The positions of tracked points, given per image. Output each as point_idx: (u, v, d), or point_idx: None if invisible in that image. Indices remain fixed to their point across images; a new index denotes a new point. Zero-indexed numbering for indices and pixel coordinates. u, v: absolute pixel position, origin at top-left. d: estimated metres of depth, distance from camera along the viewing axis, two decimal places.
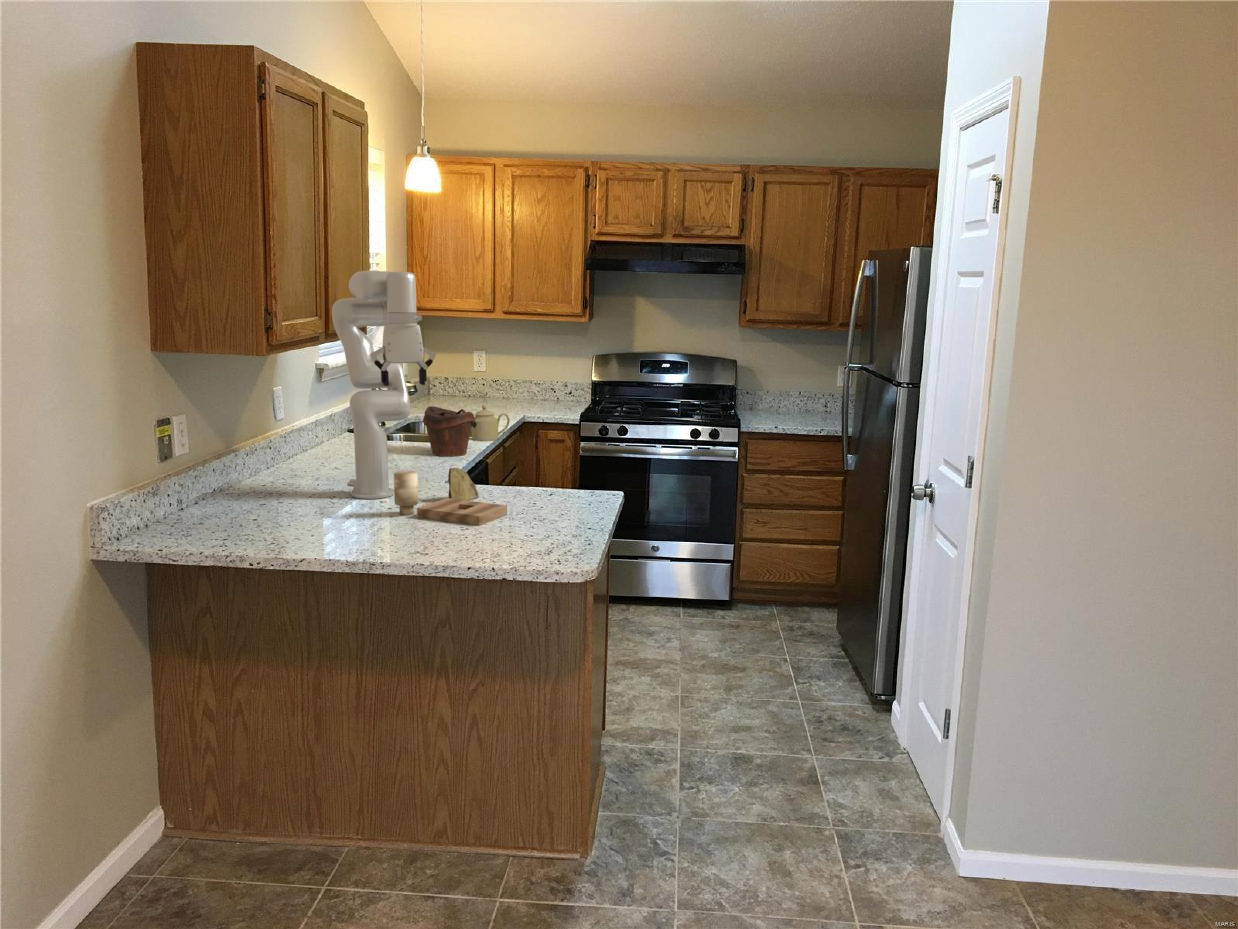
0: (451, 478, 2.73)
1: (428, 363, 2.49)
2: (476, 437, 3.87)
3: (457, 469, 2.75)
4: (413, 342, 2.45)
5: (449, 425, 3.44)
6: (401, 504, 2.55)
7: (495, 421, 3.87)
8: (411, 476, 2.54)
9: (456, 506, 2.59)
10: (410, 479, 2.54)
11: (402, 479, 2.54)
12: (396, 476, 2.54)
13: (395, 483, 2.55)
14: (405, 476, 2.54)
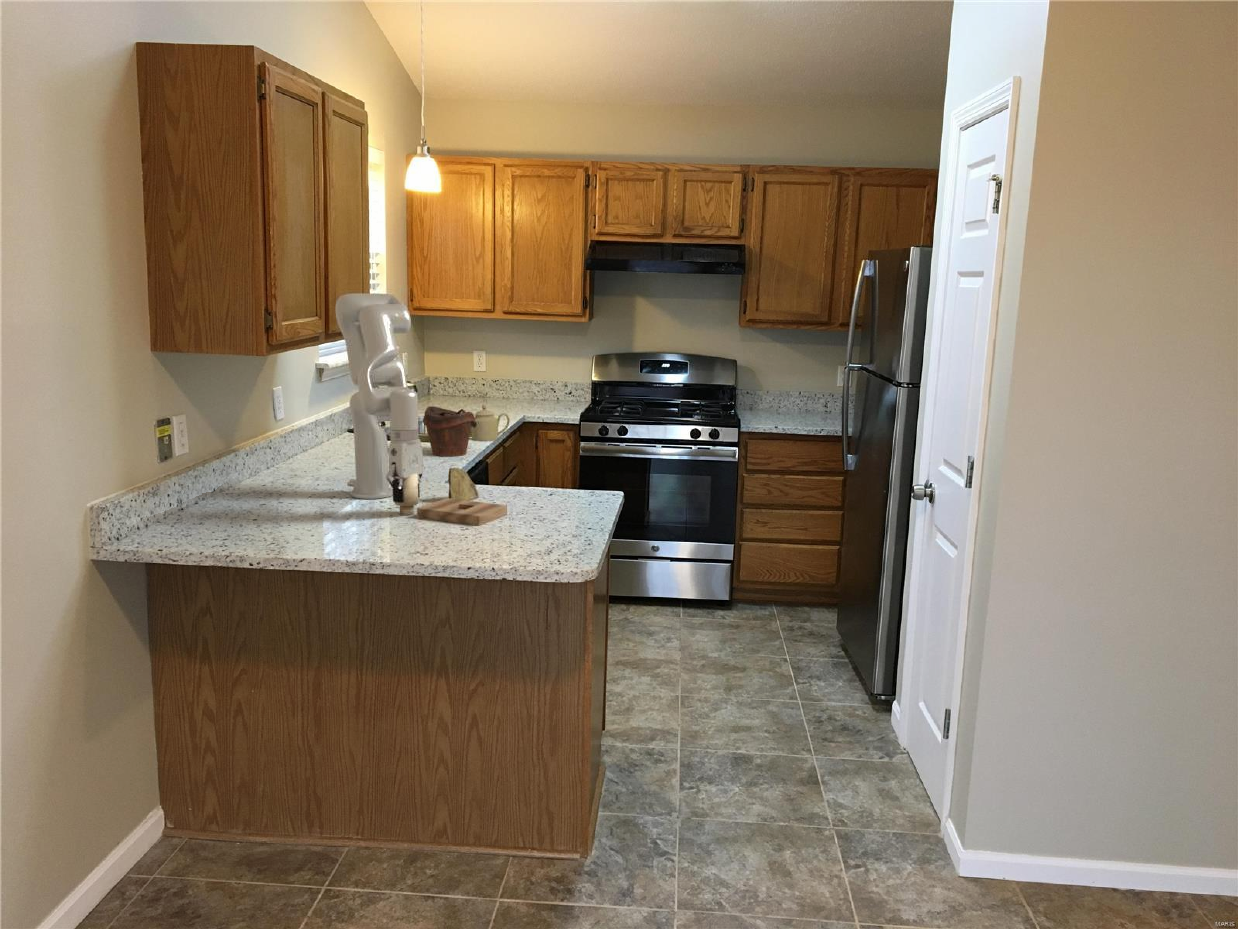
0: (451, 478, 2.73)
1: None
2: (476, 437, 3.87)
3: (457, 469, 2.75)
4: None
5: (449, 425, 3.44)
6: (401, 504, 2.55)
7: (495, 421, 3.87)
8: (411, 476, 2.54)
9: (456, 506, 2.59)
10: (410, 479, 2.54)
11: None
12: None
13: None
14: None
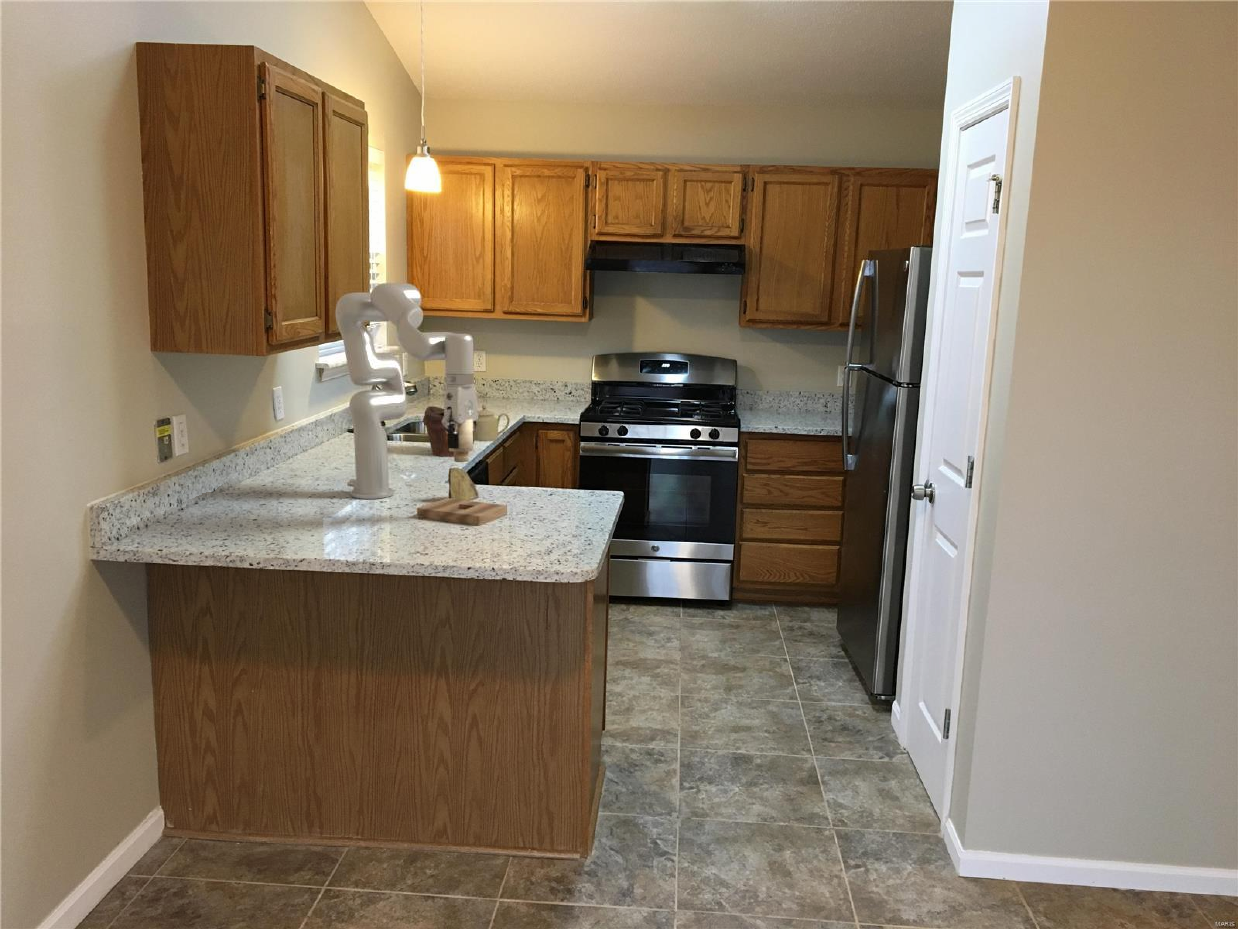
0: (451, 478, 2.73)
1: None
2: (476, 437, 3.87)
3: (457, 469, 2.75)
4: None
5: None
6: (456, 450, 2.51)
7: (495, 421, 3.87)
8: (467, 421, 2.50)
9: (456, 506, 2.59)
10: (465, 424, 2.50)
11: None
12: (451, 421, 2.50)
13: None
14: None
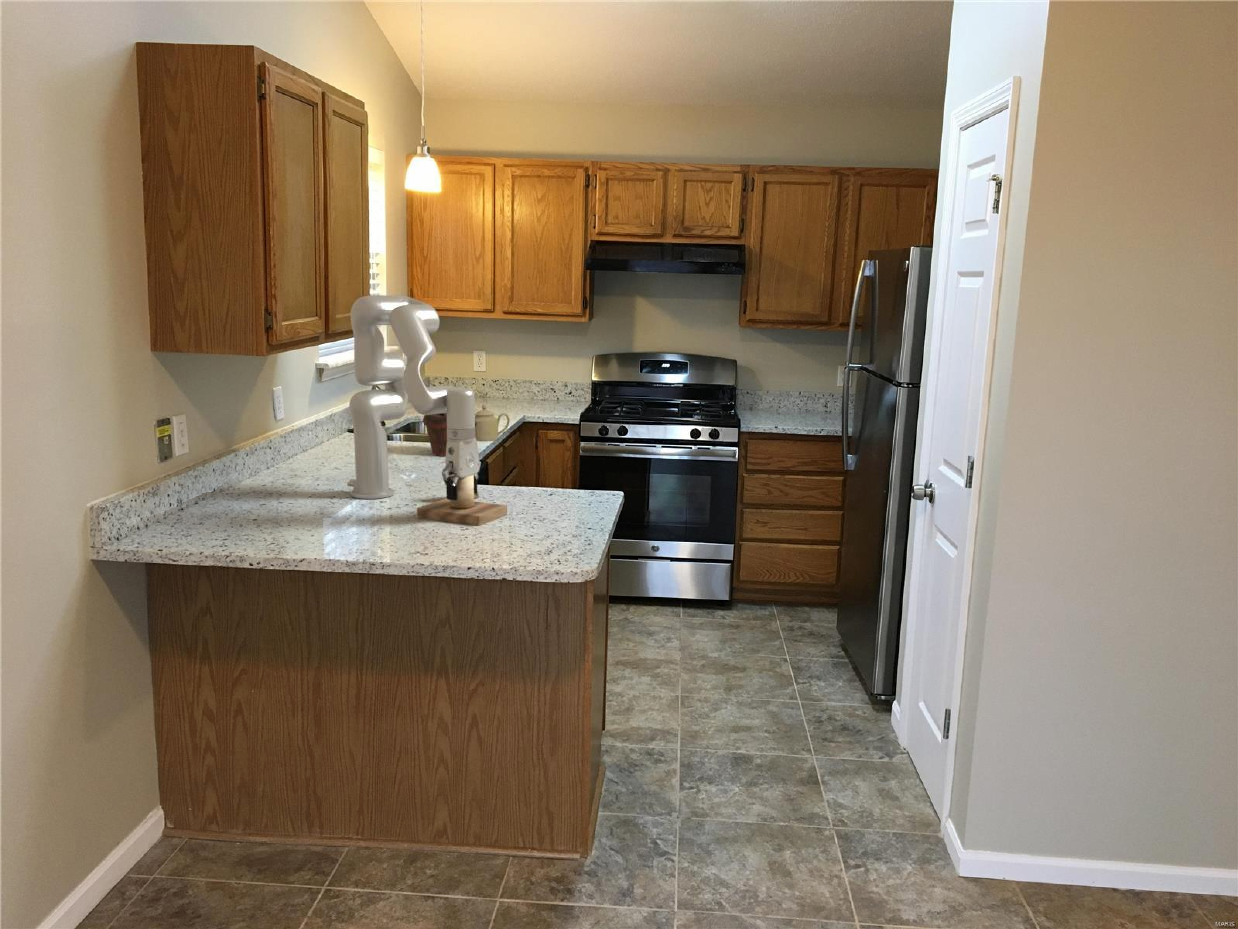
0: None
1: None
2: (476, 437, 3.87)
3: None
4: None
5: None
6: (457, 506, 2.53)
7: (495, 421, 3.87)
8: (468, 478, 2.53)
9: None
10: (467, 480, 2.53)
11: (458, 481, 2.52)
12: (453, 478, 2.53)
13: None
14: (462, 478, 2.52)
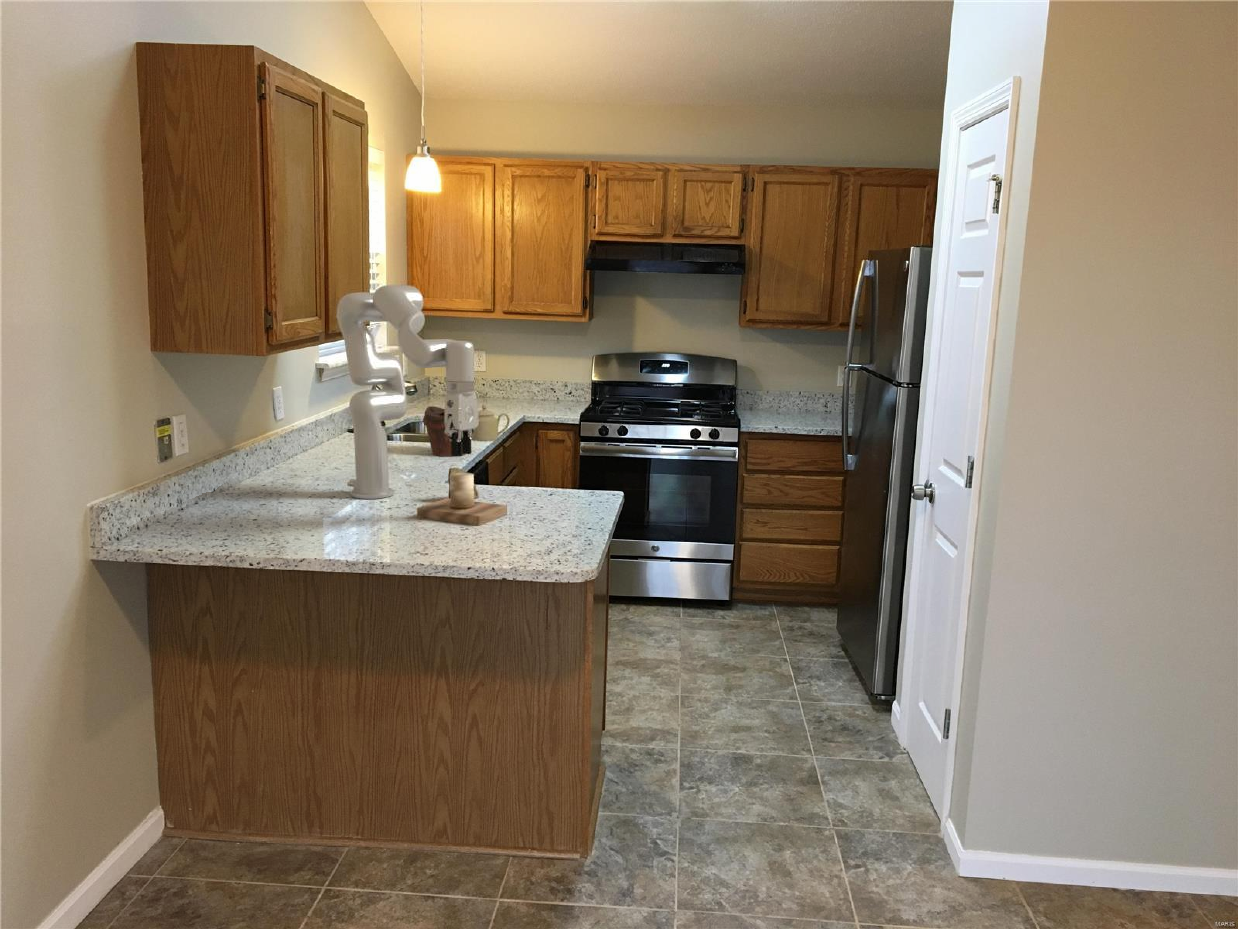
0: None
1: None
2: (476, 437, 3.87)
3: (457, 469, 2.75)
4: None
5: None
6: (457, 506, 2.53)
7: (495, 421, 3.87)
8: (468, 478, 2.53)
9: None
10: (466, 480, 2.53)
11: (458, 481, 2.52)
12: (453, 478, 2.53)
13: (452, 485, 2.53)
14: (462, 478, 2.52)
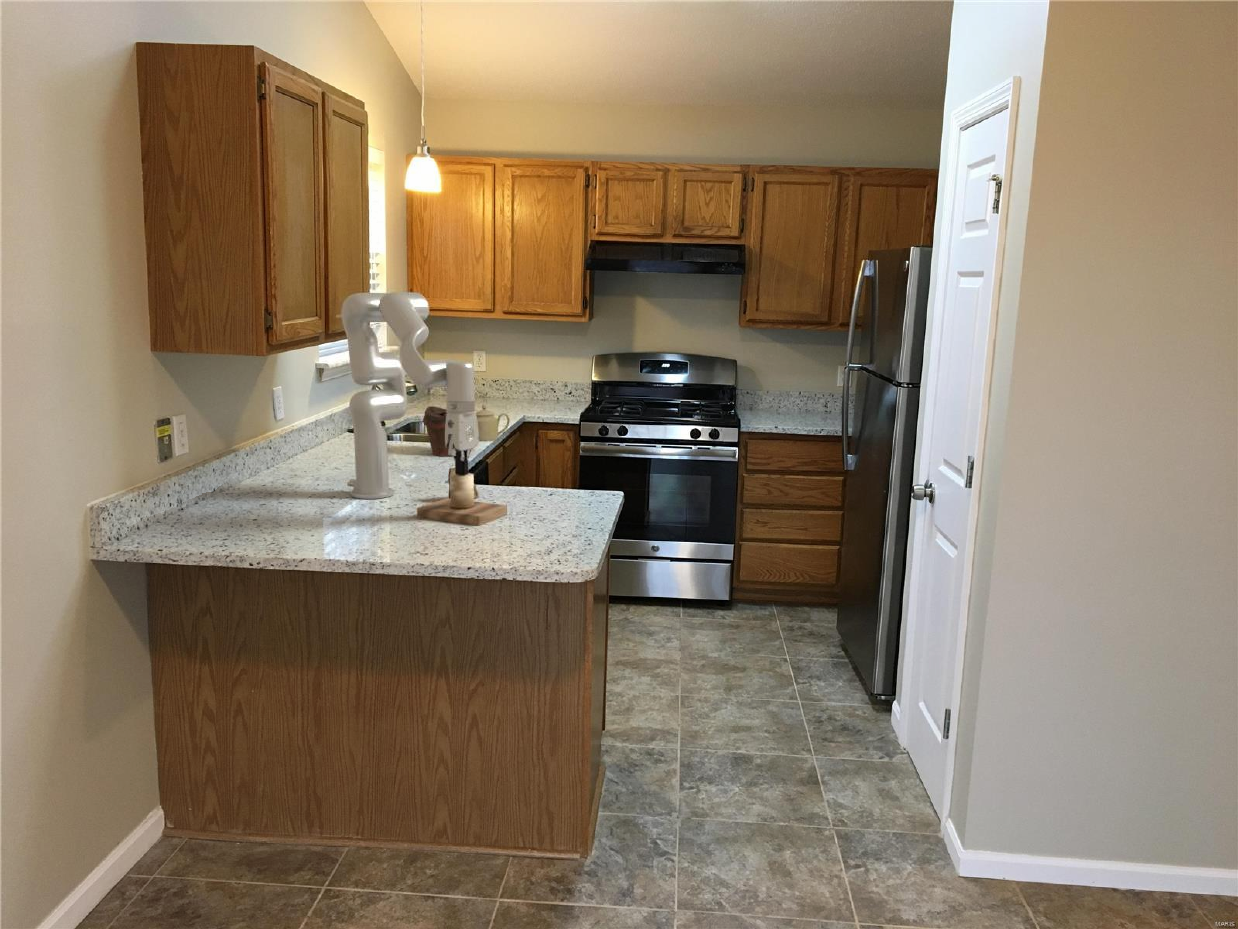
0: None
1: None
2: None
3: None
4: None
5: None
6: (457, 506, 2.53)
7: (495, 421, 3.87)
8: (468, 478, 2.53)
9: None
10: (466, 480, 2.53)
11: (458, 481, 2.52)
12: (453, 478, 2.53)
13: (452, 485, 2.53)
14: (462, 478, 2.52)
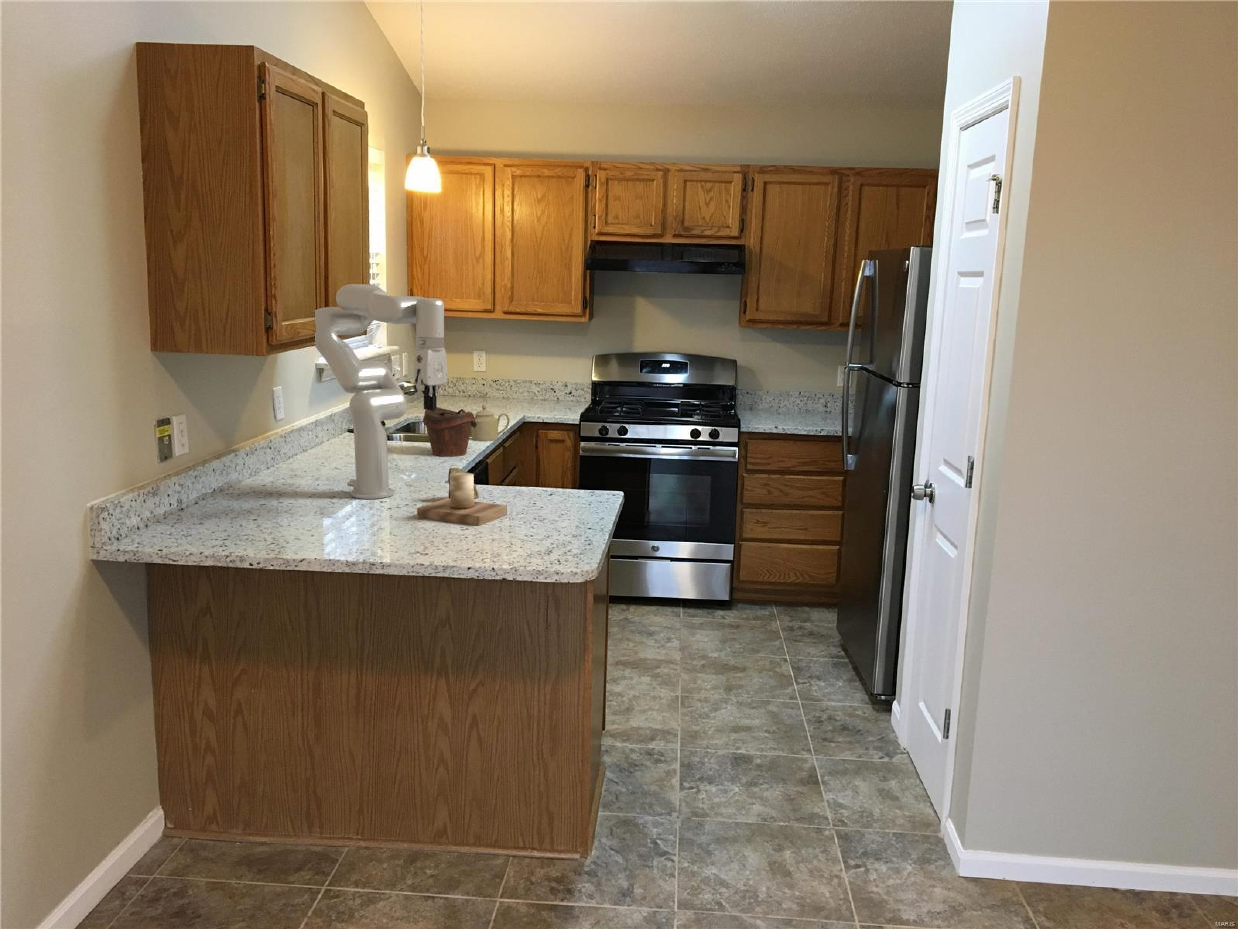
0: None
1: None
2: (476, 437, 3.87)
3: (457, 469, 2.75)
4: None
5: (449, 425, 3.44)
6: (457, 506, 2.53)
7: (495, 421, 3.87)
8: (468, 478, 2.53)
9: None
10: (466, 480, 2.53)
11: (458, 481, 2.52)
12: (453, 478, 2.53)
13: (452, 485, 2.53)
14: (462, 478, 2.52)
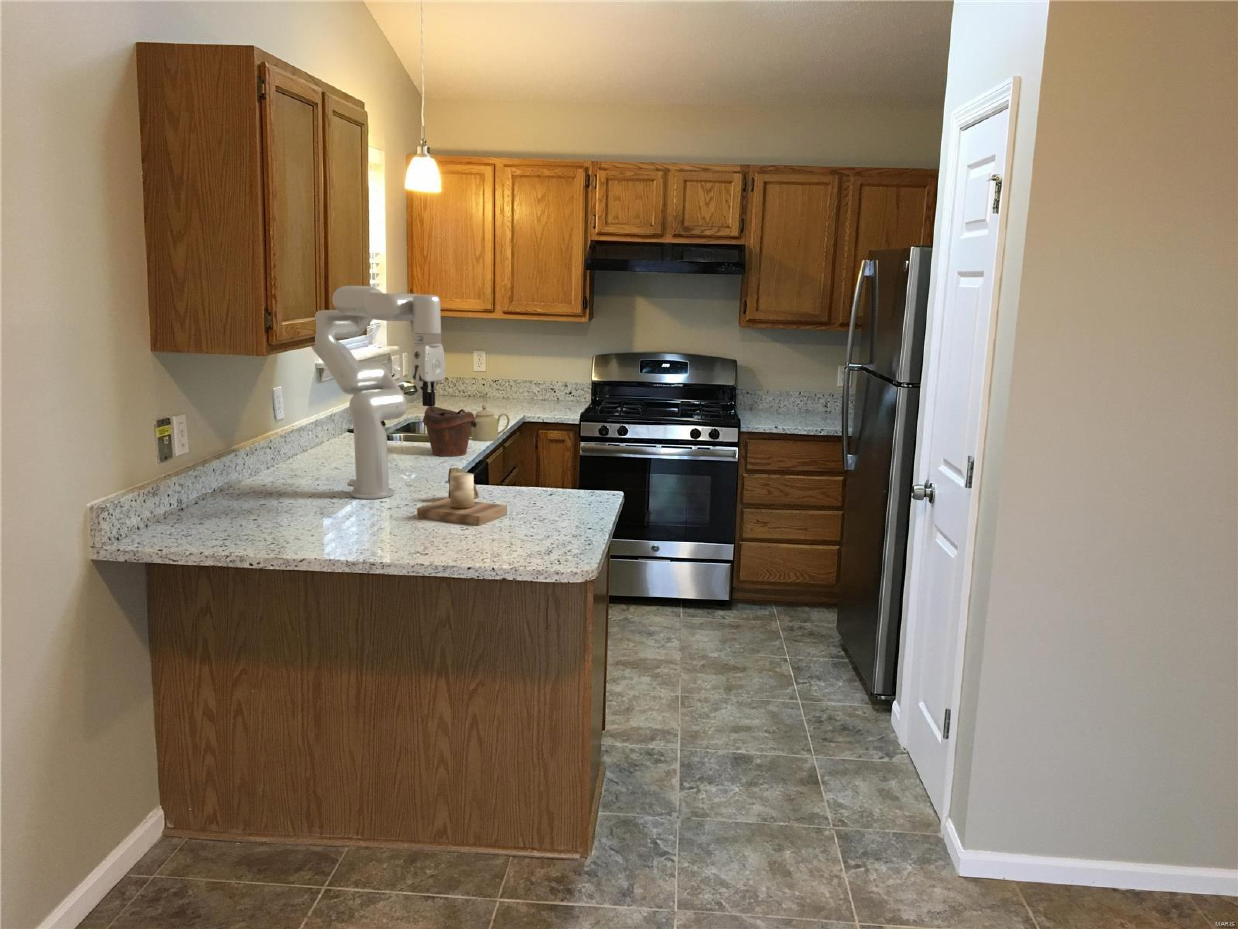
0: None
1: None
2: (476, 437, 3.87)
3: (457, 469, 2.75)
4: None
5: (449, 425, 3.44)
6: (457, 506, 2.53)
7: (495, 421, 3.87)
8: (468, 478, 2.53)
9: None
10: (466, 480, 2.53)
11: (458, 481, 2.52)
12: (453, 478, 2.53)
13: (452, 485, 2.53)
14: (462, 478, 2.52)
